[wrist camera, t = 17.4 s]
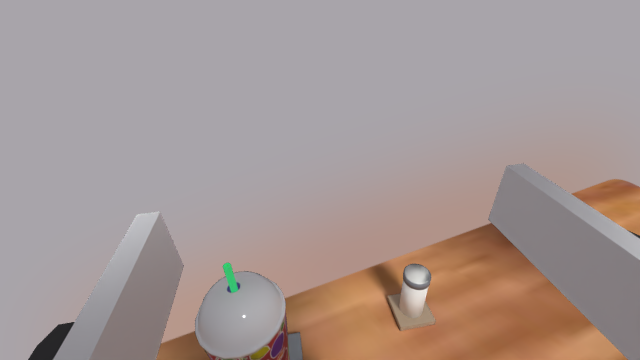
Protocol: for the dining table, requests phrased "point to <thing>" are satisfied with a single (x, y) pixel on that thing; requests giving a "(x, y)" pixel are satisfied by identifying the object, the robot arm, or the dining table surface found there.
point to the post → (412, 299)
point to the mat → (295, 346)
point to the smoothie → (243, 319)
